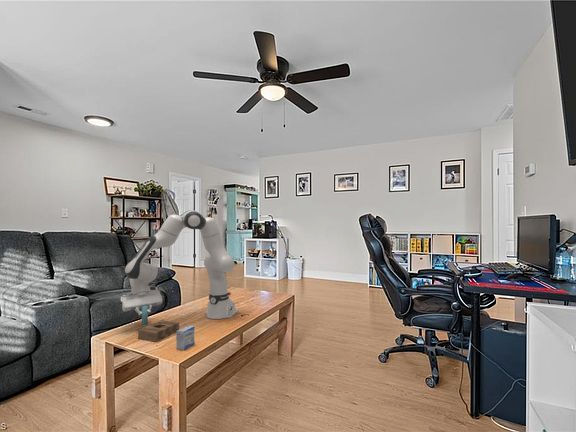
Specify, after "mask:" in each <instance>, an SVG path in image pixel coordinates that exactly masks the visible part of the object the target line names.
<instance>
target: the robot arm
mask: <svg viewBox="0 0 576 432" xmlns="http://www.w3.org/2000/svg"><path fill="white" fill-rule="evenodd" d="M186 228H188V229H190V230H199V231H200V235H201V239H202V242H203V245H204V249H205V250H206V251H207V252H208V255H207V256H205V257H204V259H203V264H204V267H205V268H206V272H207V275H208V280H209V294H208V301H207V309H206V312H205V316H206V318H208V319H210V320H211V319H213V320H219V319H229V318H232V317H234V315H236V314H237V313H238V312H239V308H236V305H235V301H233V300H232V299H231V298H230V296H231V295H232V293H231V292H230V291H228V278H226V276H225V273H230V272H232V270H233V269H234V268H235V261H234V258H232V257H231V256H230V254H229V253H228V251H227V249H226V247H225V245H224V243H223V240H222V236H221V233H220V229H219V226H218V224H217V222H216V220H215V219H214V218H213V217H212V216H211V217H210V216H209V217H207V216H206V217H205V216H203V215H202V214H201V213H199V211H197V210H193V209H192V210H190V209H189V210H187V211H185V212H183V213H182V214H180V215H178V214H176V213H175V214H169V215H168V217H167V218H166V219H165V220H164V222H163V223H162V225H161V227H160V228H159V229H158V231H157V232H156V233H154V235H152V236H150V237H148V239H147V240H146V241H145V242H144V243H143V245H142V246H141V247H140V249H138V251H137V253H136V254H135V255H134V257H133V258H132V259H131V260H130V261H129V262H128V263H127V264H126V265H125V268H124V274H125V276H126V277H127V278H128V279H129V285H130V289H131V290H130V291H131V294H124V295H122V296H121V297H120V302H121V307H122V308H121V309H122V311H123V312H129V311H134V310H135V312H136V313H137V314H138V317H140V316H142V306H145V305H147V306H148V315H149V314H150V315H151V313H152V311H151V310H152V307H157V306H160V305H162V303H163V297H162V294H161V293H160V291H159V290H158V289H159V288H158V287H157V286H152V285H149V284H151V283H152V282H154V281H155V280H157V278H158V277H159V272H160V269H159V267H158V265H155V264H151V263H146V262H144V261H145V260H146V259H147V258H148V256H149V255H150V253H151V252H152V251H153V250H155V249H160V248H168V247H172V246H173V245H174V244H175V243H176V241H177V240H178V238H179V235H180V234H181V232H182V231H183V230H184V229H186ZM140 309H141V310H140Z"/></svg>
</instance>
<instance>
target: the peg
mask: <svg viewBox="0 0 576 432" xmlns="http://www.w3.org/2000/svg"><path fill="white" fill-rule="evenodd" d="M148 310H149V308H148V306H147V305H145V306H142V308H141V311H142V315H141V326H144V327H145V326H149V325H148V324H149V321H148V319H149V314H148Z"/></svg>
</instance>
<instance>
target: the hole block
mask: <svg viewBox="0 0 576 432" xmlns="http://www.w3.org/2000/svg"><path fill="white" fill-rule="evenodd" d="M179 329H180V322H176V321H171V320H165V319H164V320H163V319H161V320H159V321H157V322H155V323H152V324H149V325H146V326H144V327H141V328H140V329H138V331H137V339H138V340H142V341H148V342H154V343H157V342H160V341H161V340H163V339H166V338H168V337H169V336H171V335H174V334H176V331H177V330H179Z"/></svg>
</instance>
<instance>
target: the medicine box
mask: <svg viewBox="0 0 576 432" xmlns="http://www.w3.org/2000/svg"><path fill="white" fill-rule="evenodd" d="M175 336H176V337H175V338H176V340H175V342H176V344H175V346H176V347H175V348H176V350H181V351H185V350H187V349H188V348H190V347H191V346H193V345H195V326H194V325H186V326H183V327H181V328H179V330H177V331H176V333H175Z"/></svg>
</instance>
